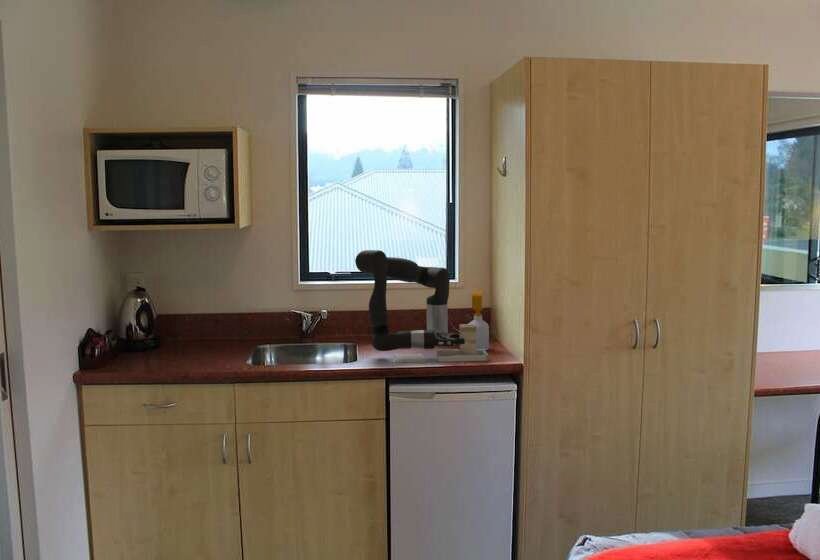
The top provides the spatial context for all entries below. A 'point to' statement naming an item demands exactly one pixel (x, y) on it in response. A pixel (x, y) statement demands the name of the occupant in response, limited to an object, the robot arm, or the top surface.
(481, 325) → the soap bottle
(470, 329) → the birch block
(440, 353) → the walled channel
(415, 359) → the grey mat
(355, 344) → the top surface
